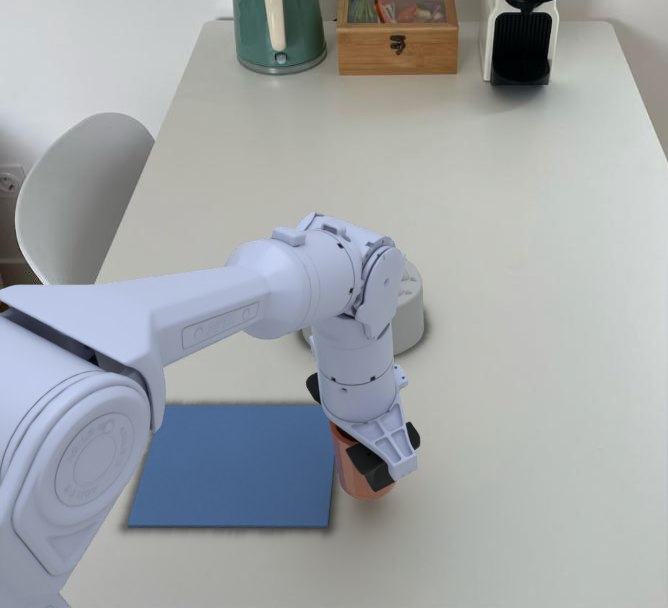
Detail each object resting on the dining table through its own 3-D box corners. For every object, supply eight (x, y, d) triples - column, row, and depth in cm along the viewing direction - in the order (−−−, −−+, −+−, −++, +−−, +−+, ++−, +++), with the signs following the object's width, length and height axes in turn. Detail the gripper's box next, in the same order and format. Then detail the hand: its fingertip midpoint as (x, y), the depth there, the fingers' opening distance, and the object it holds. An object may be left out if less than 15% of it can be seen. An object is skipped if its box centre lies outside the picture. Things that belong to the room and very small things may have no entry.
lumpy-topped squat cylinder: (327, 280, 95) (320, 224, 89) (435, 300, 92) (434, 244, 86) (294, 346, 88) (283, 290, 82) (409, 370, 85) (406, 314, 79)
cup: (378, 510, 68) (372, 457, 63) (326, 483, 70) (316, 429, 65) (409, 462, 72) (406, 408, 66) (359, 438, 74) (352, 383, 68)
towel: (339, 407, 82) (339, 405, 81) (327, 527, 72) (327, 525, 72) (163, 407, 82) (162, 405, 82) (128, 527, 73) (127, 524, 72)
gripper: (452, 400, 57) (451, 502, 66) (358, 276, 66) (368, 380, 75) (363, 444, 54) (375, 543, 64) (278, 309, 64) (299, 413, 73)
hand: (366, 457), depth 69 cm, fingers closed on cup, 5 cm apart
